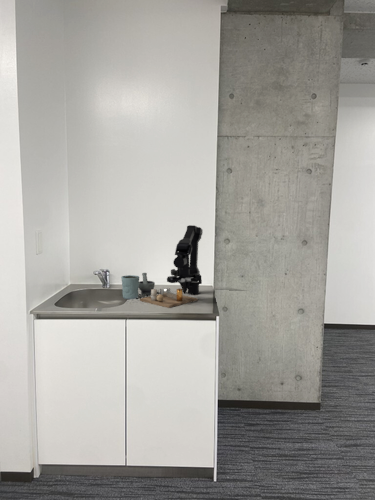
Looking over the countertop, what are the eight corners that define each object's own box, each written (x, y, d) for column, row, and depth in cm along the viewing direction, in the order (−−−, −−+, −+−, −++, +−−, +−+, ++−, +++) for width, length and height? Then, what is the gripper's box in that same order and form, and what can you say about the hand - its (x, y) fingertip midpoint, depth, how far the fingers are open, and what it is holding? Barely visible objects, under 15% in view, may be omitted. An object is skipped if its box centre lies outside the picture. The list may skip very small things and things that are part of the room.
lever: (159, 294, 240) (159, 283, 239) (164, 293, 242) (165, 283, 241) (178, 301, 224) (178, 290, 223) (184, 300, 226) (184, 289, 225)
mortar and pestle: (156, 295, 244) (156, 274, 243) (140, 296, 241) (140, 275, 240) (151, 291, 255) (151, 271, 253) (136, 292, 252) (136, 272, 250)
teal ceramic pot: (124, 300, 231) (124, 278, 229) (119, 296, 240) (119, 275, 238) (141, 298, 235) (141, 277, 234) (136, 294, 244) (136, 274, 243)
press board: (168, 294, 247) (168, 282, 246) (197, 300, 232) (197, 287, 232) (139, 300, 229) (139, 287, 229) (168, 307, 215) (168, 294, 214)
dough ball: (159, 300, 227) (159, 293, 226) (164, 301, 224) (164, 294, 224) (155, 301, 224) (155, 294, 223) (159, 302, 222) (160, 295, 221)
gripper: (191, 262, 237) (191, 289, 239) (161, 265, 228) (162, 293, 229) (201, 264, 228) (202, 292, 229) (171, 267, 218) (172, 296, 220)
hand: (184, 293), depth 227 cm, fingers closed
